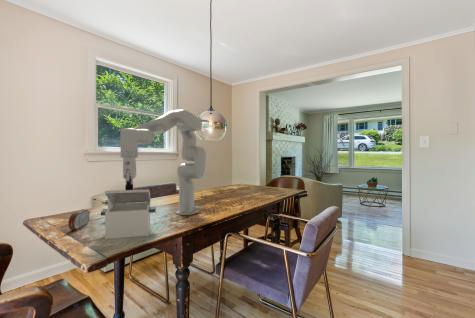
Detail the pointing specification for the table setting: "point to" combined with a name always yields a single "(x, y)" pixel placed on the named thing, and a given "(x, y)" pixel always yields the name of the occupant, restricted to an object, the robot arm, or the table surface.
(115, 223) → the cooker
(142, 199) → the lid
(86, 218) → the tin
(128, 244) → the table surface
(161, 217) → the table surface
